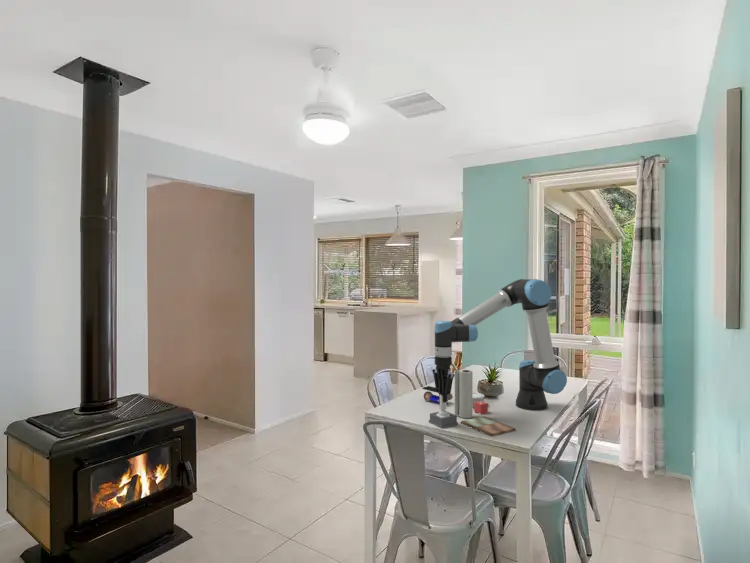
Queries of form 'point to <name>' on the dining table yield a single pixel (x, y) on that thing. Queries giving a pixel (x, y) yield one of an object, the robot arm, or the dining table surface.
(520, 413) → the dining table surface
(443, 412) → the pop dome
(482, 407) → the red die
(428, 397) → the figurine character
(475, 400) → the ramekin
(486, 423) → the game board
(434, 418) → the button base
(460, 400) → the paper towel roll
